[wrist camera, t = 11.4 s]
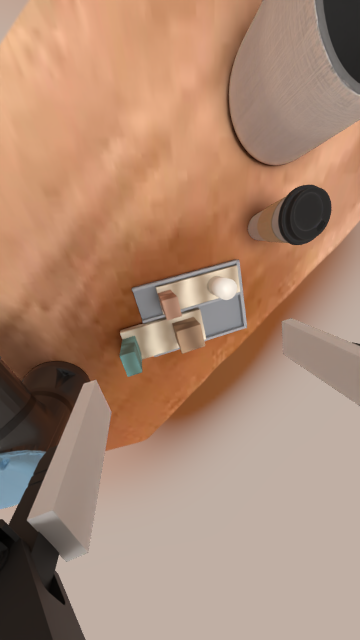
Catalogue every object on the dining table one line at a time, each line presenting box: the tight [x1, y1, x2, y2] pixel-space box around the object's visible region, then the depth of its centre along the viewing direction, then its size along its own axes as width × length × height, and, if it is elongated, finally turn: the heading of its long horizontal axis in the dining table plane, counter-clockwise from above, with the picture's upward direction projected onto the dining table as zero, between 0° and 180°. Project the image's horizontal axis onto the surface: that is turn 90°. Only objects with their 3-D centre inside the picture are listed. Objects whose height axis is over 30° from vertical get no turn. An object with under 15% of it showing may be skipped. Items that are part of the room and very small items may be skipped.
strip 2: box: [120, 307, 206, 377], centre depth 44 cm, size 20×8×10 cm, turn 104°
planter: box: [229, 0, 360, 165], centre depth 30 cm, size 22×22×20 cm
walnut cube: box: [172, 317, 205, 354], centre depth 45 cm, size 6×6×6 cm
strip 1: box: [156, 265, 240, 321], centre depth 42 cm, size 20×6×10 cm, turn 104°
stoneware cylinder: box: [207, 276, 237, 300], centre depth 42 cm, size 4×4×6 cm
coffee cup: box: [248, 185, 331, 245], centre depth 39 cm, size 9×9×15 cm
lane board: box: [132, 260, 247, 357], centre depth 48 cm, size 26×18×2 cm
